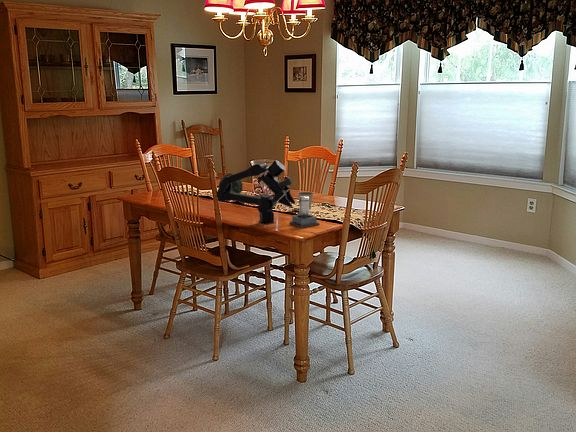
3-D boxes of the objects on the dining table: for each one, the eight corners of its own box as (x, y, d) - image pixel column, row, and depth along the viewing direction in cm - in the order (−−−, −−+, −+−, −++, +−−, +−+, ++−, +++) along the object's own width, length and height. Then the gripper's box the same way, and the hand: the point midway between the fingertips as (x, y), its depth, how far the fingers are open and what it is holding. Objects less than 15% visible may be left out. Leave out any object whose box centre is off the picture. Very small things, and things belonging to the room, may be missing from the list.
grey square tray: (300, 227, 289) (300, 220, 288) (289, 223, 299) (289, 215, 298) (319, 224, 294) (319, 217, 294) (308, 220, 304) (308, 212, 303)
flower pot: (299, 210, 326) (299, 195, 324) (295, 207, 335) (294, 192, 333) (315, 209, 329) (315, 194, 327) (310, 205, 338) (310, 191, 335)
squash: (236, 182, 383) (223, 167, 374) (250, 186, 372) (237, 171, 363) (223, 199, 379) (210, 184, 370) (237, 203, 368) (223, 188, 359)
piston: (301, 223, 293) (300, 198, 290) (297, 221, 298) (297, 196, 295) (310, 222, 295) (310, 197, 292) (307, 220, 299) (307, 195, 297)
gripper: (279, 174, 284) (302, 197, 285) (285, 169, 302) (307, 190, 302) (263, 190, 287) (286, 213, 288) (271, 184, 305) (292, 205, 306)
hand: (293, 205), depth 296 cm, fingers open, 9 cm apart
